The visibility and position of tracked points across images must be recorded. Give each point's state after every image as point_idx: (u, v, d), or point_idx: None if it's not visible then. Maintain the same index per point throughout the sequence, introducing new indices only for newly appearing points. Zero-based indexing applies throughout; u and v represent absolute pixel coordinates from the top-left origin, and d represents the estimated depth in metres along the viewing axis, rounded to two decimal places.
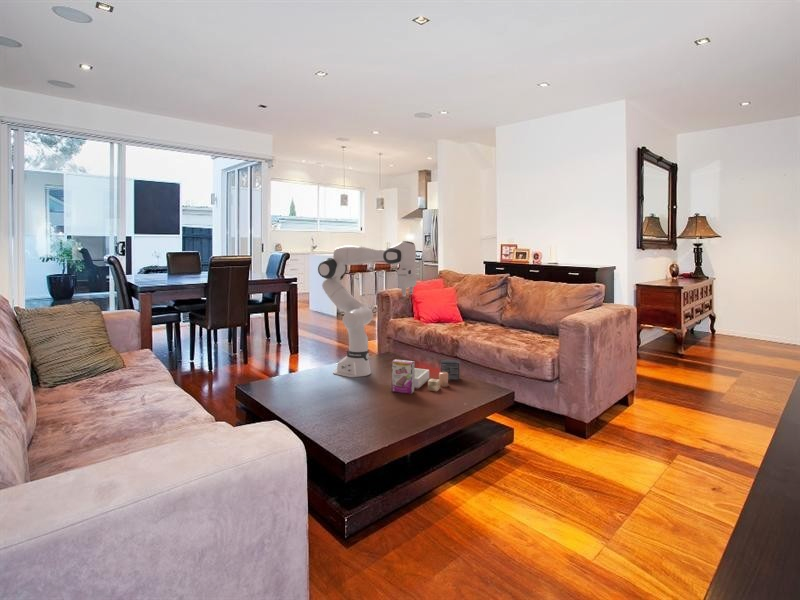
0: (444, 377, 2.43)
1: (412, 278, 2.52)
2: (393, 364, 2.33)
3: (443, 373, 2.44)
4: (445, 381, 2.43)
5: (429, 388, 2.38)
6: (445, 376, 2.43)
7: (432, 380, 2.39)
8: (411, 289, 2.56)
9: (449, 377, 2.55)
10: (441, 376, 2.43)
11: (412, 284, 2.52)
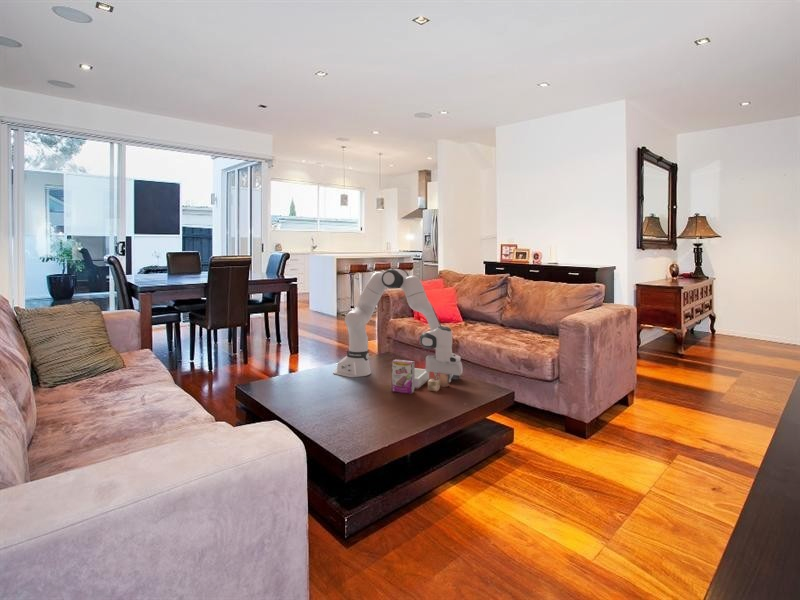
0: (444, 377, 2.43)
1: None
2: (393, 364, 2.33)
3: None
4: (445, 381, 2.43)
5: (429, 388, 2.38)
6: (445, 376, 2.43)
7: (432, 380, 2.39)
8: (436, 375, 2.47)
9: (449, 377, 2.55)
10: (441, 376, 2.43)
11: None
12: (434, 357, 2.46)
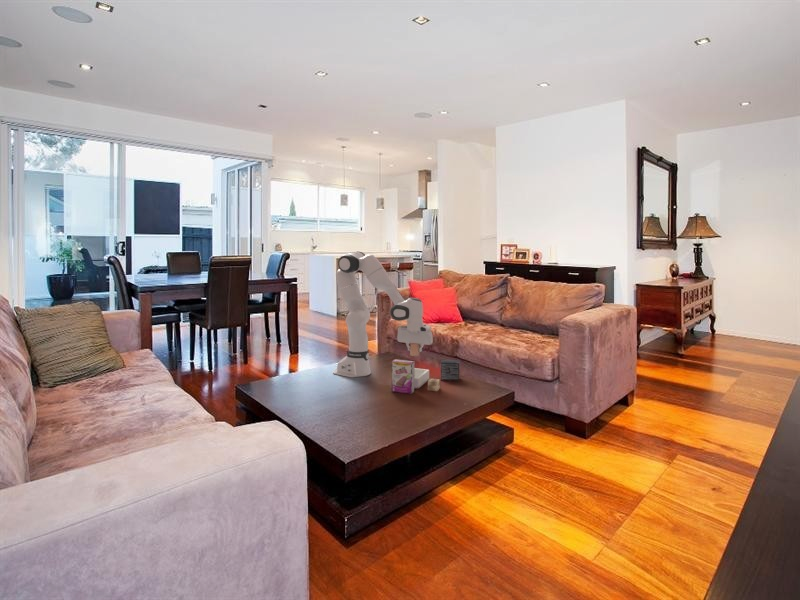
0: (415, 346, 2.51)
1: None
2: (393, 364, 2.33)
3: (414, 343, 2.53)
4: (416, 350, 2.51)
5: (429, 388, 2.38)
6: (416, 345, 2.51)
7: (432, 380, 2.39)
8: (408, 345, 2.55)
9: (449, 377, 2.55)
10: (412, 345, 2.51)
11: None
12: (406, 327, 2.54)
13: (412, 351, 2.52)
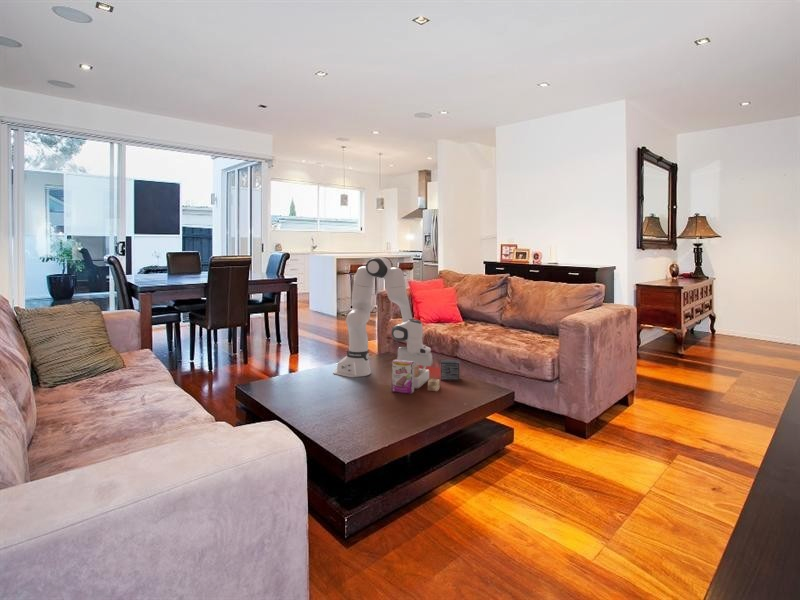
0: (415, 370, 2.53)
1: None
2: (393, 364, 2.33)
3: None
4: (416, 374, 2.53)
5: (429, 388, 2.38)
6: (416, 369, 2.53)
7: (432, 380, 2.39)
8: None
9: (449, 377, 2.55)
10: None
11: None
12: (405, 349, 2.55)
13: None
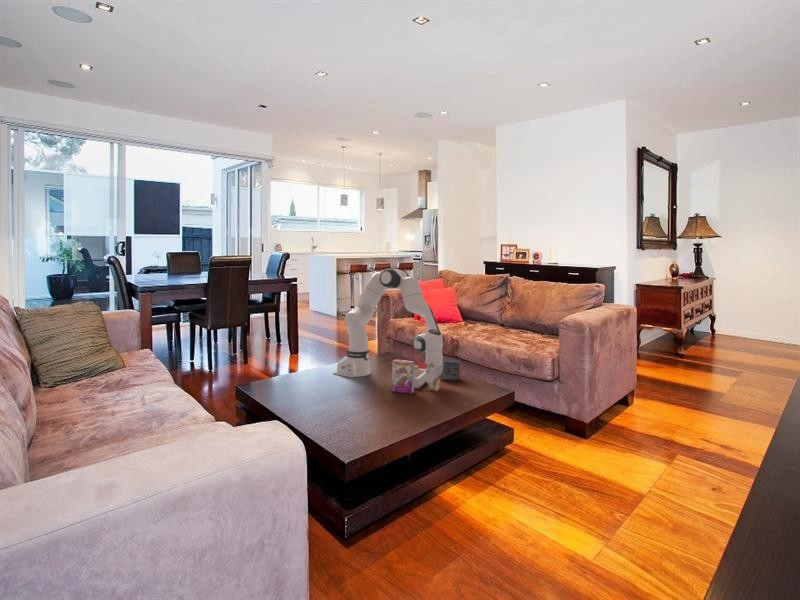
0: (414, 370, 2.53)
1: None
2: (393, 364, 2.33)
3: None
4: (415, 374, 2.53)
5: (429, 388, 2.38)
6: (415, 369, 2.53)
7: None
8: None
9: (449, 377, 2.55)
10: None
11: None
12: (431, 365, 2.33)
13: None
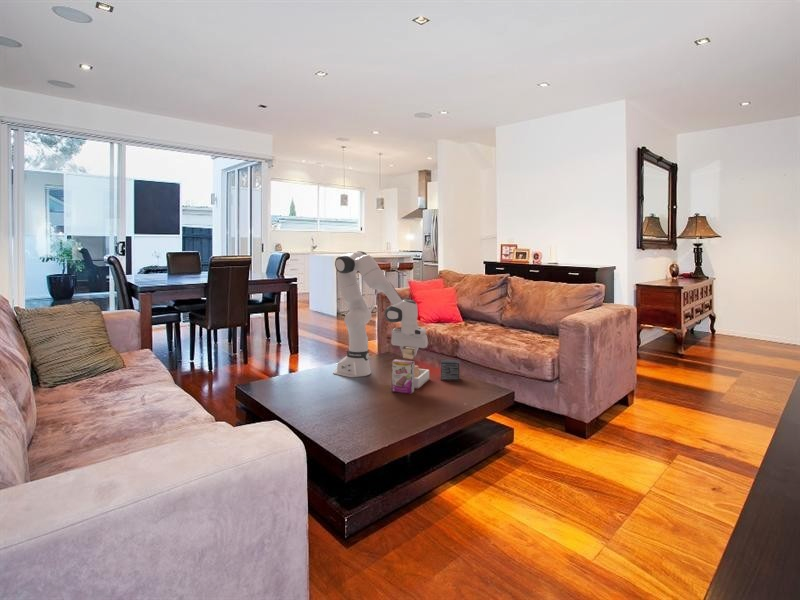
0: (414, 370, 2.53)
1: None
2: (393, 364, 2.33)
3: None
4: (415, 374, 2.53)
5: None
6: (415, 369, 2.53)
7: (409, 348, 2.46)
8: (402, 348, 2.47)
9: (449, 377, 2.55)
10: None
11: None
12: (400, 330, 2.45)
13: None
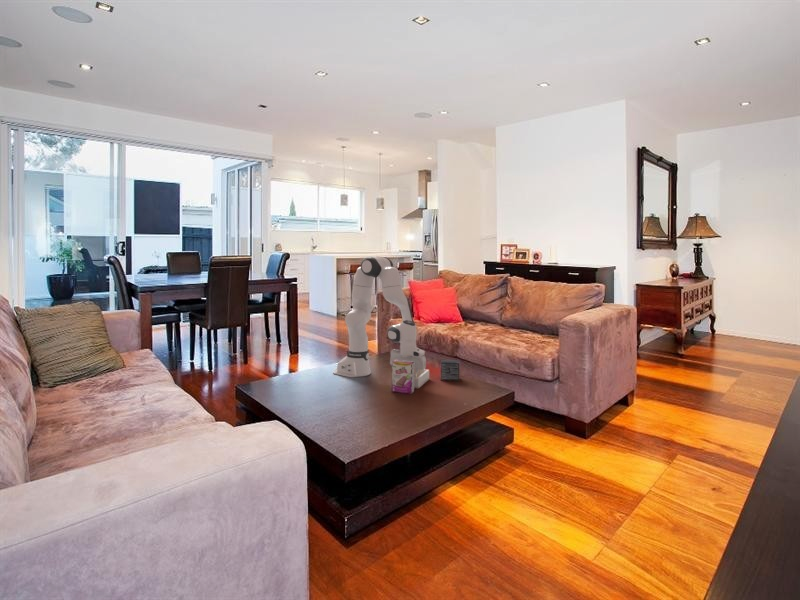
0: (414, 370, 2.53)
1: None
2: (393, 364, 2.33)
3: None
4: None
5: None
6: (415, 369, 2.53)
7: None
8: None
9: (449, 377, 2.55)
10: None
11: None
12: (399, 351, 2.47)
13: None
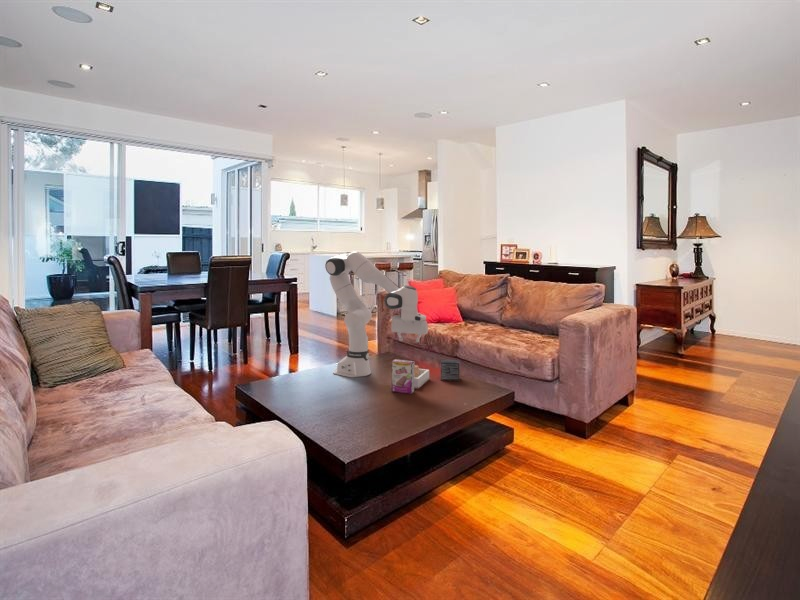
0: (414, 370, 2.53)
1: None
2: (393, 364, 2.33)
3: None
4: (415, 374, 2.53)
5: None
6: (415, 369, 2.53)
7: None
8: (400, 335, 2.46)
9: (449, 377, 2.55)
10: None
11: None
12: (400, 317, 2.44)
13: None
